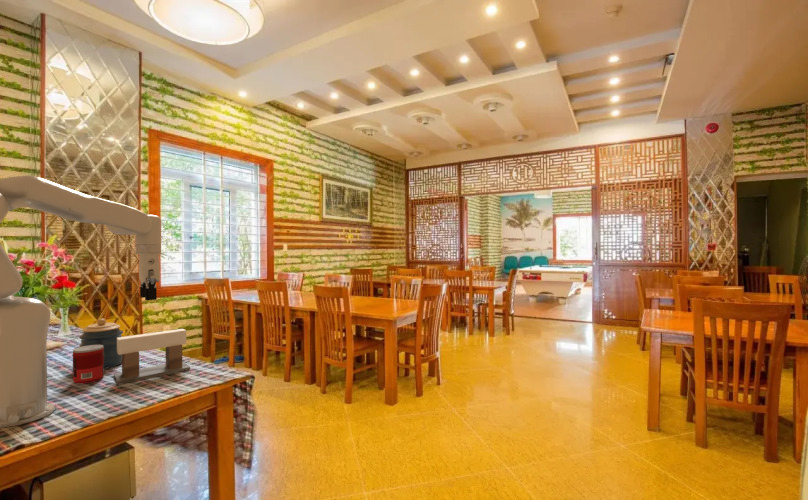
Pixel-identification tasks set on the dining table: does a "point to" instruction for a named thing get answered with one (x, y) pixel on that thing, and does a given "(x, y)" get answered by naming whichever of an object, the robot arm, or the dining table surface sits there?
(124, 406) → the dining table surface
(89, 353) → the canned food
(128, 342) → the shelf board
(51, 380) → the dining table surface
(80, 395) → the dining table surface
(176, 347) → the post stand
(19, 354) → the robot arm
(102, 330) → the canister
